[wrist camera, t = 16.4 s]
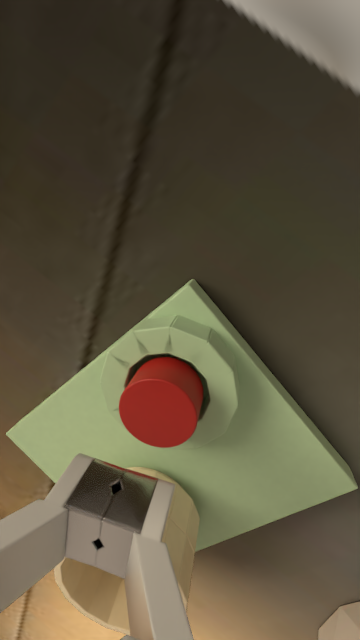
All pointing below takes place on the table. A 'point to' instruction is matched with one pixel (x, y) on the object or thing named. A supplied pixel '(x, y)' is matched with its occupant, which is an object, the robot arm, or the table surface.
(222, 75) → the table surface
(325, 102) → the table surface
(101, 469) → the robot arm
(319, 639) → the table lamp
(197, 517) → the beige cup
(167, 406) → the button
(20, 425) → the green base plate
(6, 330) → the table surface
